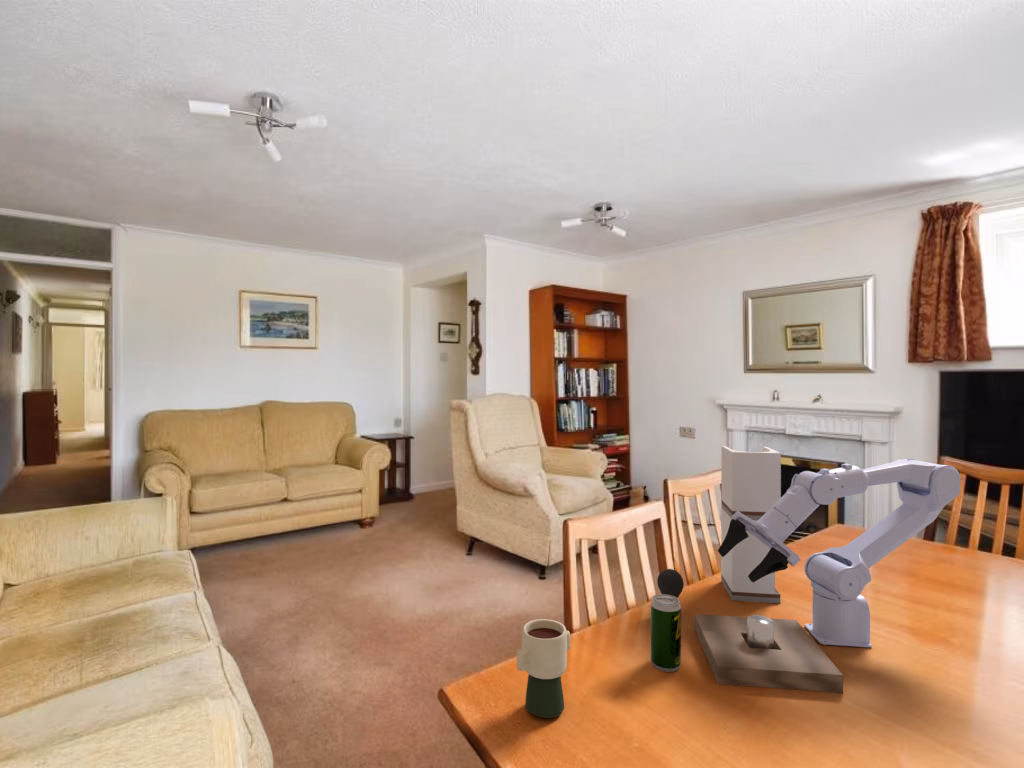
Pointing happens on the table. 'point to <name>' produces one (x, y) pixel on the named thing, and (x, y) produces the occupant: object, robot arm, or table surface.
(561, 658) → the character mug
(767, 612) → the table surface
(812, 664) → the housing block
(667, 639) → the green drink can
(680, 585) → the light bulb
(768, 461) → the tall white column
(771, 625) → the shiny metal cylinder
